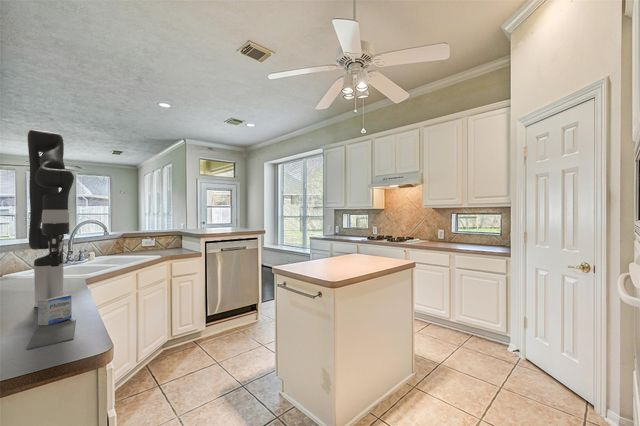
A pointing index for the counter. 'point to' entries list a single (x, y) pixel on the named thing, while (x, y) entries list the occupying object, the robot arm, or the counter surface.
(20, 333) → the counter surface
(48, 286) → the robot arm
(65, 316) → the medicine box
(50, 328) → the mat
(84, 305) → the counter surface
